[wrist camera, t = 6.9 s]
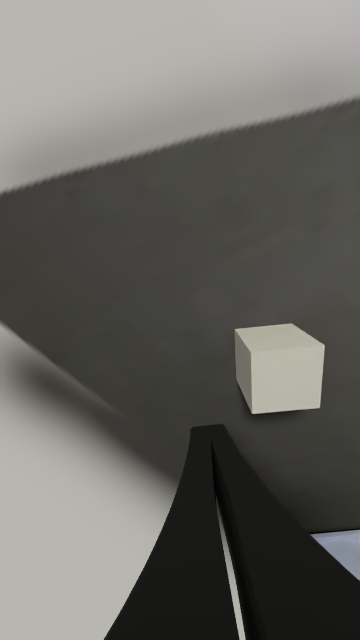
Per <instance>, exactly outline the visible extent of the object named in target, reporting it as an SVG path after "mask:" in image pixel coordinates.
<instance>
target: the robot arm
mask: <svg viewBox="0 0 360 640" xmlns="http://www.w3.org/2000/svg"><path fill="white" fill-rule="evenodd" d="M215 493H216V494H215ZM216 497H217V501H218V506H219V509H220V514H221V518H222V522H223V527H224V530H225V535H226V539H227V543H228V547H229V552H230V556H231V560H232V565H233V569H234V574H235V579H236V584H237V590H238V596H239V602H240V608H241V613H242V620H243V626H244V632H245V638H246V640H360V530H351V531H341V532H330V533H320V534H309V533H308V532H307V531H306V530H305V529H304V528H303V527H302V526H301V525H300V523H299V522H298V521H297V520H296V519H295V518H294V517H293V516H292V515H291V514H290V513H289V512H288V511H287V510H286V509H285V507H284V506H283V505H282V504H281V503H280V502H279V501H278V500H277V498H276V497H275V496H274V495H273V494H272V493H271V491H270V490H269V489H268V488H267V487H266V485H265V484H264V483H263V482H262V480H261V479H260V478H259V477H258V475H257V474H256V473H255V471H254V470H253V469H252V467H251V466H250V465H249V463H248V462H247V460H246V459H245V458H244V456H243V455H242V453H241V452H240V450H239V449H238V447H237V446H236V444H235V443H234V441H233V439H232V438H231V436H230V434H229V432H228V431H227V429H226V426H224V425H223V424H218V425H208V426H198V427H193V428H192V429H191V434H190V443H189V449H188V453H187V458H186V462H185V466H184V469H183V473H182V476H181V479H180V483H179V486H178V489H177V492H176V495H175V498H174V500H173V503H172V506H171V508H170V511H169V513H168V516H167V518H166V521H165V523H164V526H163V528H162V530H161V533H160V535H159V537H158V539H157V541H156V544H155V546H154V548H153V550H152V552H151V554H150V556H149V559H148V560H147V563H146V565H145V567H144V568H143V571H142V572H141V574H140V576H139V578H138V580H137V582H136V584H135V585H134V587H133V589H132V591H131V593H130V595H129V597H128V599H127V601H126V602H125V604H124V606H123V608H122V610H121V611H120V613H119V615H118V617H117V618H116V620H115V622H114V623H113V625H112V627H111V628H110V630H109V632H108V633H107V635H106V637H105V638H104V640H239V635H238V629H237V624H236V618H235V613H234V607H233V601H232V596H231V590H230V584H229V579H228V573H227V567H226V562H225V556H224V550H223V545H222V539H221V534H220V527H219V521H218V515H217V508H216Z"/></svg>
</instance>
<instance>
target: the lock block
mask: <svg viewBox="0 0 360 640" xmlns="http://www.w3.org/2000/svg"><path fill="white" fill-rule="evenodd" d="M324 347H325V345H323V344H322V343H320V342H319V341H317V340H316V339H314V338H313V337H311V336H310V335H308V334H307V333H305V332H304V331H302V330H301V329H299V328H298V327H296V326H295V325H293V324H282V325H272V326H262V327H252V328H242V329H235V353H236V380H237V382H238V384H239V386H240V388H241V391H242V393H243V395H244V397H245V399H246V402H247V404H248V406H249V408H250V410H251V413H252V414H258V413H269V412H279V411H290V410H301V409H312V408H320V398H321V385H322V373H323V360H324Z"/></svg>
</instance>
